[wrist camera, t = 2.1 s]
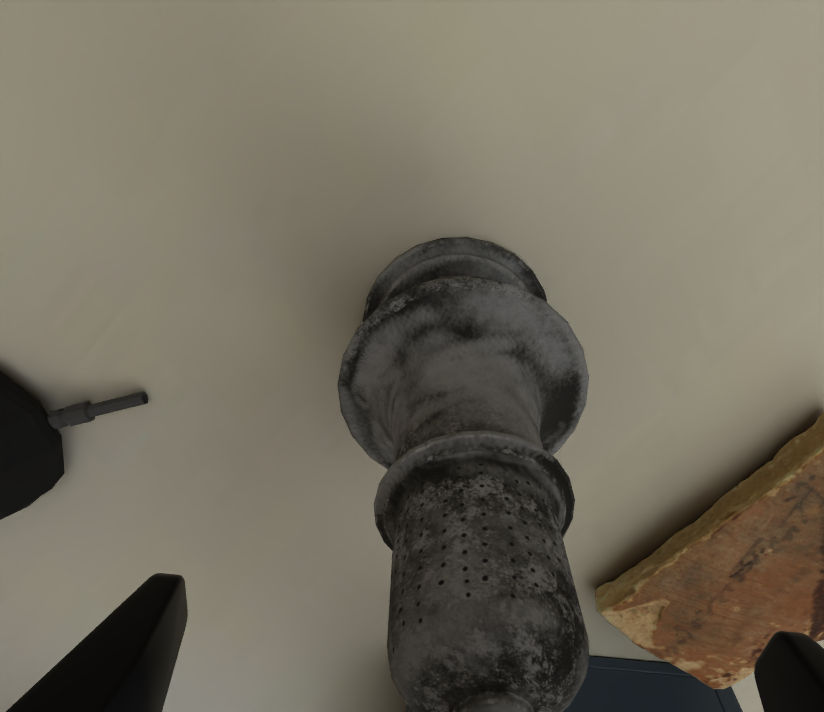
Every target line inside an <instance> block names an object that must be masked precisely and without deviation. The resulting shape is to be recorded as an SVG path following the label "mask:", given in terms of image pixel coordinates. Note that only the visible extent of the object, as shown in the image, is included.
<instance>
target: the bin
mask: <svg viewBox="0 0 824 712" xmlns="http://www.w3.org/2000/svg"><path fill="white" fill-rule="evenodd" d="M406 712H414V711H413V710H412V709H411V708H410V707H409V705H408V704H407V707H406ZM563 712H742V709H741V707H740V705H739V703H738V700H737V698H736V696H735V694H734V692H733V689H732V687H731V686H730V687H727V688H725V689H713V688H711V687H709V686H707V685H706V684H704V683H703V682H701V681H700V680H699V679H697V678H696V677H695V676H693V675H691V674H689V673H687V672H685V671H683V670H681V669H679V668H678V667H676V666H674V665H672V664H670V663H659V662H648V661H637V660H626V659H615V658H603V657H592V656H589V662H588V668H587V674H586V677H585V679H584V681H583V683H582V685H581V687H580V689H579V690H578V692H577V694H576V696H575V697H574V699H573V701H572V702H571V704H570V705H569V706H568V707H567V708H566V709H565V710H564V711H563Z"/></svg>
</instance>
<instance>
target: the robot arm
mask: <svg viewBox="0 0 824 712" xmlns="http://www.w3.org/2000/svg"><path fill="white" fill-rule="evenodd" d="M187 616H188V609H187V599H186V588H185V581H184V578H183V577H182V576H181V575H174V574H164V573H157V574H155V575H153V576H151V577H150V578H149V579H148V580H147V581H146V582H144V583H143V584H142V585H141V586H140V587H139V588H138V589H137V590H136V591H135V592H134V593H133V594H132V595H131V596H129V597H128V598H127V599H126V600H125V601H124V602H123V603H122V604H121V605H120V606H119V607H118V608H117V609H115V610H114V611H113V612H112V613H111V614H110V615H109V616H108V617H107V618H106V619H105V620H104V621H103V622H102V623H100V624H99V625H98V626H97V627H96V628H95V629H94V630H93V631H92V632H91V633H90V634H89V635H88V636H87V637H85V638H84V639H83V640H82V641H81V642H80V643H79V644H78V645H77V646H76V647H75V648H74V649H73V650H72V651H70V652H69V653H68V654H67V655H66V656H65V657H64V658H63V659H62V660H61V661H60V662H59V663H58V664H56V665H55V666H54V667H53V668H52V669H51V670H50V671H49V672H48V673H47V674H46V675H45V676H44V677H43V678H41V679H40V680H39V681H38V682H37V683H36V684H35V685H34V686H33V687H32V688H31V689H30V690H29V691H28V692H26V693H25V694H24V695H23V696H22V697H21V698H20V699H19V700H18V701H17V702H16V703H15V704H14V705H13V706H11V707H10V708H9V709H8V710H7V711H6V712H162V709H163V706H164V702H165V698H166V695H167V691H168V688H169V684H170V681H171V677H172V674H173V670H174V667H175V663H176V660H177V656H178V652H179V649H180V645H181V642H182V638H183V635H184V631H185V627H186V623H187ZM754 674H755V680H756V684H757V688H758V691H759V695H760V698H761V702H762V705H763V709H764V712H824V648H822V647H821V646H820V645H819V644H818V643H817V642H816V641H814V640H813V639H812V638H811V637H809V636H808V635H806V634H803V633H799V632H788V631H778V632H776V633H775V634H774V635H773V636H772V637H771V639H770V640H769V642H768V643H767V645H766V647H765V648H764V650H763V651H762V653H761V654H760V656H759V657H758V659H757V661H756V663H755V669H754Z"/></svg>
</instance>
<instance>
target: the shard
mask: <svg viewBox="0 0 824 712" xmlns="http://www.w3.org/2000/svg"><path fill="white" fill-rule="evenodd" d="M595 597H596V607H597V611H598V612H599V613H600V614H601V615H602V616H604V617H605V619H606V620H607V621H608V622H609V623H610V624H612V625H613V626H615V627H616V628H618V629H619V630H620V631H621V632H622V633H624V634H625V635H626V636H627V637H628V638H629V639H630V640H631V641H632V642H634V643H635V644H636V645H638V646H639V647H641V648H643V649H646V650H647V651H649V652H650V653H652V654H654V655H655V656H657V657H658V658H660V659H663V660H667V661H669V662H670V663H671V664H672V665H674V666H676V667H678V668H679V669H681V670H683V671H685V672H687V673H689V674H691V675H693V676H695V677H696V678H697V679H699V680H700V681H701V682H703V683H704V684H706V685H707V686H709V687H711V688H713V689H725V688H727V687H730V686H732V685H733V684H735V683H737V682H739V681H741V680H742V679H743V678H745V677H747V676H748V675H750V674H751V673H753V672H754V669H755V663H756V661H757V659H758V657H759V656H760V654H761V653H762V651H763V650H764V648H765V647H766V645H767V643H768V642H769V640H770V639H771V637H772V636H773V635H774V634H775V633H776V632H778V631H788V632H799V633H803V634H806V635H808V636H809V637H811V638H812V639H813V640H814V641H821V640H824V413H822V414H821V415H820V416H819V418H818V419H817V421H816V423H815V424H814V425H813V426H812V427H810V428H809V429H808V430H807V431H805V432H804V433H802V434H800V435H798V436H796V437H794V438H793V439H792V440H790V441H789V442H788V443H787V444H786V445H785V446H783V447H782V448H781V449H780V450H779V452H778V453H777V454H776V455H775V457H774V459H773V460H772V461H770V462H768V463H766V464H765V465H764V466H762V467H761V468H760V469H758V470H757V471H755V472H754V473H753V474H752V475H751V476H750V477H749V478H748V479H746V480H744V481H742V482H740V483H739V485H737V486H735V487H734V488H733V489H732V490H730V491H729V492H728V493H726V494H725V495H723V496H722V497H721V498H720V499H719V500H718V501H717V502H716V503H715V504H714V505H713V506H712V507H711V508H710V509H709V510H707V511H706V512H705V513H704V514H703V515H702V516H701V517H700V518H699V519H698V520H696V521H695V522H694V523H692V524H690V525H688V526H687V527H685V528H684V529H683V530H681V531H679V532H677V533H675V534H674V535H673V536H672V537H671V538H670V539H668V540H667V541H666V542H665V543H664V544H662V545H661V546H660V548H658V549H657V550H656V551H655V552H654V553H653V554H651V555H650V556H649V557H648V558H646V559H644V560H642V561H641V562H640V563H639V564H637V565H636V566H635V567H633V568H630V569H629V570H627V571H626V572H624V573H623V574H622V575H621V576H619V577H618V578H617V579H616V580H615V581H613V582H607V583H604V584H603V585H601V586H600V587H598V588H597V589H596V592H595Z"/></svg>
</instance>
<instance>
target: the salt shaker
mask: <svg viewBox="0 0 824 712" xmlns="http://www.w3.org/2000/svg"><path fill="white" fill-rule="evenodd" d="M588 380H589V375H588V371H587V366H586V361H585V356H584V351H583V348H582V346H581V344H580V343H579V341H578V339H577V338H576V336H575V334H574V332H573V331H572V329H571V327H570V325H569V324H568V322H567V321H566V320H565V319H564V318H563V317H562V316H561V315H560V314H559V313H558V312H556V311H555V310H554V309H553V308H552V307H551V306H550V305H549V304H548V303H547V300H546V296H545V292H544V290H543V288H542V286H541V284H540V283H539V281H538V279H537V278H536V276H535V274H534V272H533V271H532V270H531V269H530V268H529V267H528V266H527V265H526V264H525V263H524V262H523V261H522V260H521V259H520V258H519V257H517V256H516V255H515V254H514V253H512V252H510V251H508V250H506V249H504V248H502V247H500V246H498V245H496V244H494V243H492V242H487V241H483V240H478V239H473V238H469V237H461V238H441V239H437V240H434V241H431V242H427V243H424V244H421V245H417V246H415V247H414V248H412V249H410V250H409V251H407V252H405V253H404V254H402V255H400V256H399V257H397V258H395V259H394V260H393V261H392V262H391V264H390V265H389V266H388V267H387V268H386V269H385V270H384V271H383V272H382V273H381V274H380V275H379V276H378V278H377V280H376V282H375V284H374V285H373V287H372V289H371V291H370V293H369V295H368V297H367V302H366V307H365V312H364V317H363V323H362V324H361V325H360V326H359V327H358V328H357V330H356V332H355V334H354V336H353V337H352V339H351V341H350V343H349V345H348V347H347V349H346V351H345V352H344V354H343V358H342V363H341V369H340V374H339V380H338V392H339V400H340V408H341V413H342V415H343V417H344V419H345V422H346V424H347V426H348V428H349V430H350V433H351V435H352V437H353V438H354V439H355V440H356V441H357V442H358V444H359V445H360V446H361V447H362V448H363V449H364V451H365V452H366V453H367V454H368V455H369V456H370V457H371V458H372V459H374V460H375V461H376V462H378V463H379V464H381V465H382V466H384V467H385V468H386V469H388V471H387V473H386V474H385V476H384V477H383V479H382V480H381V482H380V483H379V487H378V491H377V494H376V498H375V502H374V511H375V522H376V526H377V528H378V530H379V532H380V534H381V537H382V539H383V541H384V542H385V543H386V545H387V546H388V547H389V548H390V549H391V550H392V551H393V553H392V570H391V587H390V604H389V621H388V639H387V649H388V659H389V666H390V671H391V677H392V680H393V682H394V684H395V686H396V688H397V689H398V691H399V693H400V695H401V696H402V697H403V699H404V700H405V701H406V703H407V704H408V705H409V707H410V708H411V709H412V710H413V711H414V712H563V711H564V710H565V709H566V708H567V707H568V706H569V705H570V704H571V702H572V701H573V699H574V697H575V696H576V694H577V692H578V690H579V689H580V687H581V685H582V683H583V681H584V679H585V677H586V674H587V668H588V662H589V640H588V636H587V632H586V628H585V625H584V621H583V617H582V613H581V609H580V605H579V601H578V597H577V593H576V590H575V586H574V582H573V578H572V574H571V570H570V566H569V562H568V558H567V555H566V551H565V547H564V543H563V539H562V538H563V537H564V535H565V533H566V531H567V529H568V527H569V525H570V523H571V521H572V519H573V511H574V503H575V499H574V495H573V491H572V486H571V482H570V479H569V477H568V475H567V474H566V472H565V471H564V469H563V468H562V466H561V465H560V463H559V462H558V460H557V459H555V458H554V457H553V456H552V455H553V454H555V453H556V452H557V451H558V450H559V449H560V447H561V446H562V445H563V444H564V443H565V441H566V440H567V439H568V438H569V436H570V435H571V434H572V433H573V431H574V430H575V428H576V426H577V423H578V421H579V419H580V417H581V414H582V412H583V410H584V407H585V405H586V398H587V389H588Z"/></svg>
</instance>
